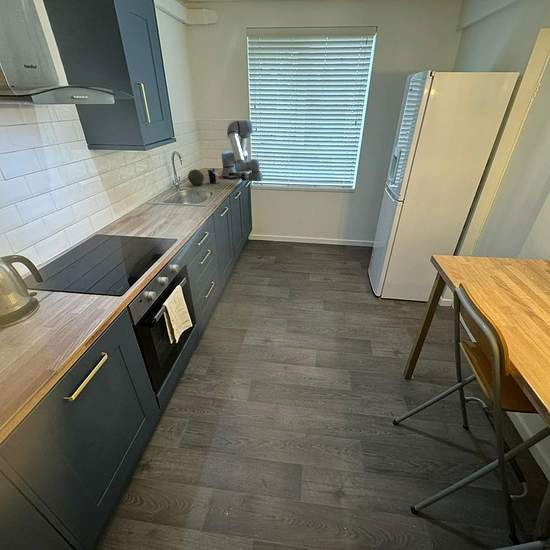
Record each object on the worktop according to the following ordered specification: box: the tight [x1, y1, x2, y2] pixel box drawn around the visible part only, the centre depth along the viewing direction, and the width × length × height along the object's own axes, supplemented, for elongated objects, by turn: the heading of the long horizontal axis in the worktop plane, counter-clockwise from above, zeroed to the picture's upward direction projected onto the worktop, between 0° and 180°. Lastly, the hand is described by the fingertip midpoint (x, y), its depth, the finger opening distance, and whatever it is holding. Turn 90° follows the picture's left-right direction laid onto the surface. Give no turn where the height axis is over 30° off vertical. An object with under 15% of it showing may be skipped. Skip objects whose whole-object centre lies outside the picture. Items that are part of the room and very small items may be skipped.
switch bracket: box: [205, 168, 221, 185], centre depth 281 cm, size 11×9×13 cm
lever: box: [210, 168, 223, 180], centre depth 279 cm, size 13×4×4 cm, turn 73°
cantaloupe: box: [187, 169, 205, 187], centre depth 275 cm, size 14×14×15 cm
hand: (225, 175), depth 276 cm, fingers open, 13 cm apart
